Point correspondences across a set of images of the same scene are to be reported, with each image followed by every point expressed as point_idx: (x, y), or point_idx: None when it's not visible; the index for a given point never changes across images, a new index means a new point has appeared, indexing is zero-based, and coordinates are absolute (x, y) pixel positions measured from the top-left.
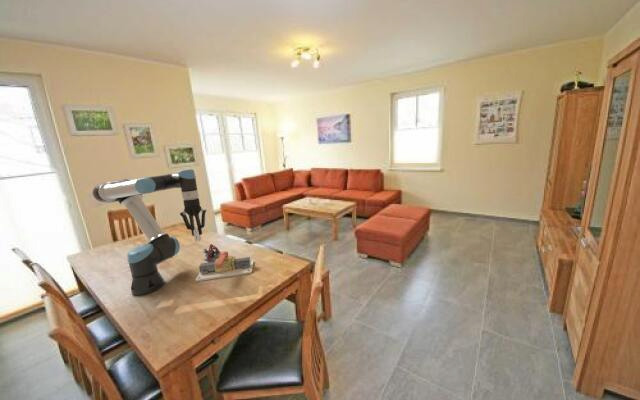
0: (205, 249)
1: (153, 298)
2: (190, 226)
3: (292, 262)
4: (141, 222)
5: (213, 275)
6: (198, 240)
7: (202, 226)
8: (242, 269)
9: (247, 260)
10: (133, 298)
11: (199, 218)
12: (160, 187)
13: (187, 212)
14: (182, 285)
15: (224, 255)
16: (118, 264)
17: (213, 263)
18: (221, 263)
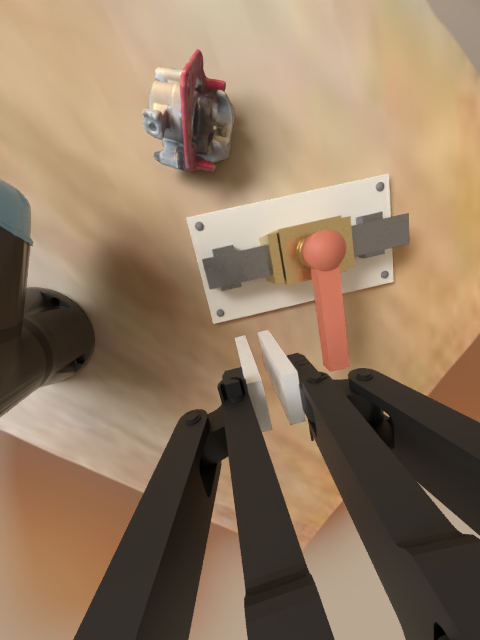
0: (159, 120)
1: (136, 406)
2: (206, 427)
3: None
4: None
5: (266, 299)
6: (266, 369)
7: (374, 428)
8: (360, 261)
9: (399, 245)
10: (68, 406)
11: (410, 474)
12: None
13: None
14: (180, 342)
15: (338, 280)
16: None
17: (262, 265)
18: (348, 358)
